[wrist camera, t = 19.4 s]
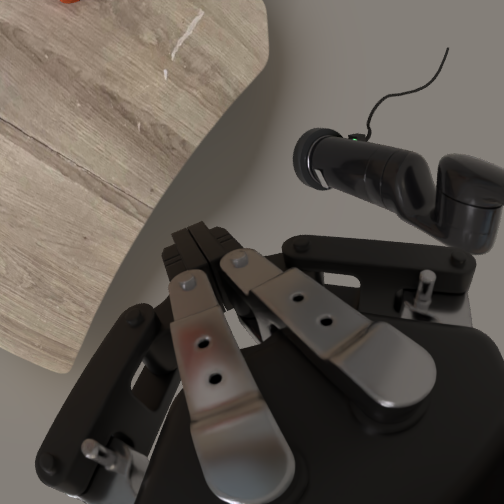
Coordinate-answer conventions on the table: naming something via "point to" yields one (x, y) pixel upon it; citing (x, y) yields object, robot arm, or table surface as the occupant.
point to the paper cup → (69, 1)
